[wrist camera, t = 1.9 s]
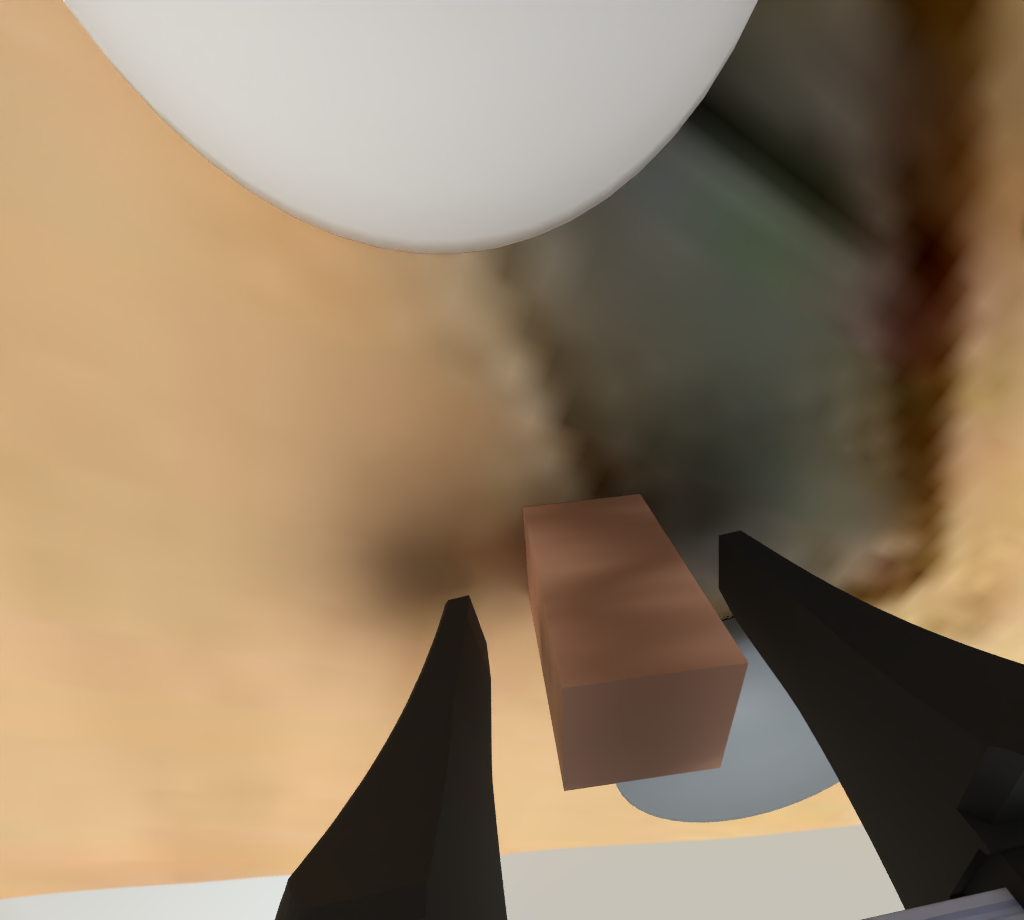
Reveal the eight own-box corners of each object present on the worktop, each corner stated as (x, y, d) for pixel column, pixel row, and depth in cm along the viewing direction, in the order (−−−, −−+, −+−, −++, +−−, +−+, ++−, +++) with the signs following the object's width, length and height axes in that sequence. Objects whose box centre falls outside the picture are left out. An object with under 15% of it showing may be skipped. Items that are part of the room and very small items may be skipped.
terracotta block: (640, 493, 14) (748, 662, 9) (633, 582, 16) (720, 767, 10) (522, 506, 14) (561, 688, 9) (528, 595, 16) (564, 790, 10)
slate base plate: (920, 590, 17) (958, 621, 16) (834, 767, 23) (856, 800, 22) (608, 631, 17) (621, 666, 15) (599, 802, 22) (608, 839, 21)
